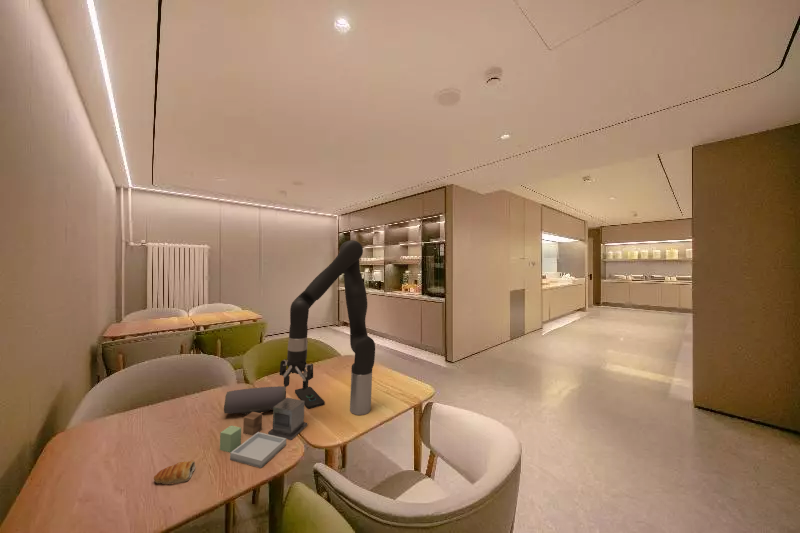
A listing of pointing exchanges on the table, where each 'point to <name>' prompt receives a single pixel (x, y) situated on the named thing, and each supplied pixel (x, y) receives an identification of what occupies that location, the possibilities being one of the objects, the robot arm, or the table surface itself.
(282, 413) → the housing
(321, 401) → the smart home device
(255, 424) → the walnut block
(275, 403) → the bluetooth speaker
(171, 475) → the pastry
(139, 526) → the table surface
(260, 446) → the tray
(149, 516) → the table surface
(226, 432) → the green block
